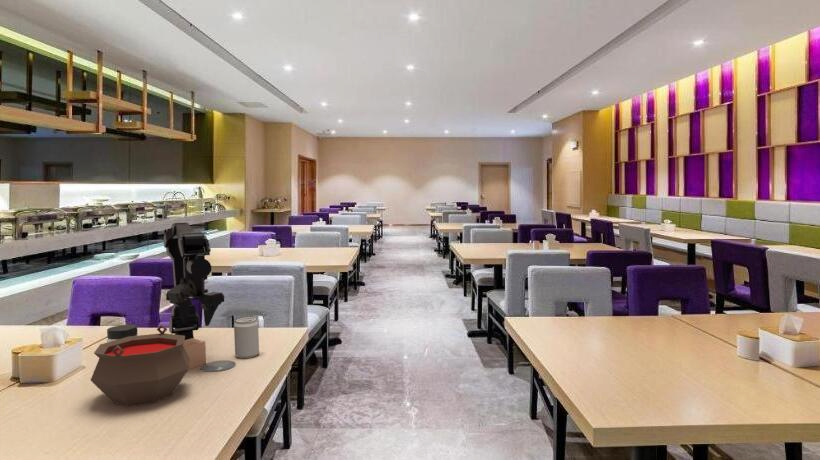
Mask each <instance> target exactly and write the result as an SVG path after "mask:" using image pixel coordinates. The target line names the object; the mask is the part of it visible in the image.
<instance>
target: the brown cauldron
mask: <svg viewBox="0 0 820 460" xmlns="http://www.w3.org/2000/svg"><path fill="white" fill-rule="evenodd" d="M161 329H163V330H161ZM156 331H157V332H158V333H150V334H141V335H139V334H138V336H129V337H125V338H122V339H118V340H115V341H111V342H107V341H106V342H105V343H104V342H103V343H100V344H99V346H98V347H97V348H96V350H95V351H94V352H93V354H94V355H95V356H97V358H98V361H97V363H96V365H95V368H94V371H93V374H92V376H91V377H90V382H91V383H93V384H94V386H96V387H97V388H98V389H99V390H100V391H101V393H103V394H104V395H105V396H106V398H108V399H109V400H110V401H111V402H112V403H113V404H116V405H121V406H126V407H135V406H140V405H141V406H142V405H149V403H150V404H155V403H157V402H159V401H162V400H164V399H167V398H169V397H171V395H172V396H173V394H174V392H175V390H176V389H177V388H178V386H179V385H180V383H181V382H182V380H183V378H184V376H185V375H186V374H187V372H188V370H189V363H190V358H189V356H188V354H187V352H186V350H185V349H184V347H183V344H184V339H185V336H182V335H175V334H174V333H173V334H171V333H166V332H167V331H168V328H167V327H166V326H165V325H164V324H162V323H161V324H160V325H159V326H158V327H157V328H156Z"/></svg>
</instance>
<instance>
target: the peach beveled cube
mask: <svg viewBox="0 0 820 460" xmlns="http://www.w3.org/2000/svg"><path fill="white" fill-rule="evenodd" d="M183 347H184V349H185V350H186V352H187V354H188V356H189V358H190V363H189V369H193V368H197V367H201V366H202V365H203V364H205V363H207V350H206V341H205V340H201V339H198V338H192V339H187V340H184V344H183ZM189 369H188V370H189Z"/></svg>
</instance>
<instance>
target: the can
mask: <svg viewBox="0 0 820 460" xmlns="http://www.w3.org/2000/svg"><path fill="white" fill-rule="evenodd" d="M233 333H234V334H233V336H234V337H233V339H234V355H235V356H236V357H237V358H239V359H252V358H255V357H257V356H258V354H259V353H260V339H259V338H260V337H259V322H258V321H257V319H256V318H255V317H251V316H250V317H242V318H241V317H240V318H238V319H236V320H235V323H234V325H233Z"/></svg>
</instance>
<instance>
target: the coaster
mask: <svg viewBox="0 0 820 460" xmlns="http://www.w3.org/2000/svg"><path fill="white" fill-rule="evenodd" d="M235 366H236V362H235V361H233V360H230V359H229V360H228V359H221V360H213V361H210V362H209V361H208V362H206V363H205V364H203V365H201V366H199V368H200V371H201V372H202V371H203V372H206V373H207V372H208V373H216V372H217V373H218V372H223V371H228V370H230V369H233V368H234V367H235Z"/></svg>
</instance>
